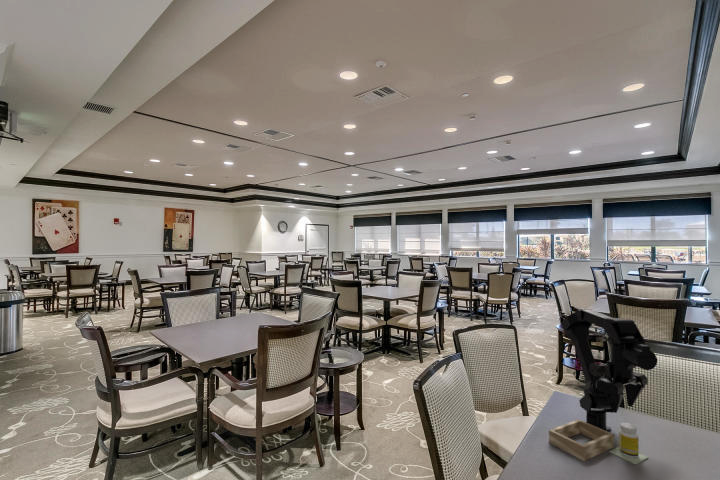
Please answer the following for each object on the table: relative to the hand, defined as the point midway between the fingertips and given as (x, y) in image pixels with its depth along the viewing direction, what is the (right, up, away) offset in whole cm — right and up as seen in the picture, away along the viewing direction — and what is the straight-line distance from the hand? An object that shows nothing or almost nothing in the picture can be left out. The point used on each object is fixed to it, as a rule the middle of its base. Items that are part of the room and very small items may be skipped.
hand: (622, 409), depth 112 cm
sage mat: (-1, -12, -4) cm, 13 cm away
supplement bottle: (-1, -12, -4) cm, 12 cm away
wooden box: (-12, -12, +1) cm, 17 cm away
